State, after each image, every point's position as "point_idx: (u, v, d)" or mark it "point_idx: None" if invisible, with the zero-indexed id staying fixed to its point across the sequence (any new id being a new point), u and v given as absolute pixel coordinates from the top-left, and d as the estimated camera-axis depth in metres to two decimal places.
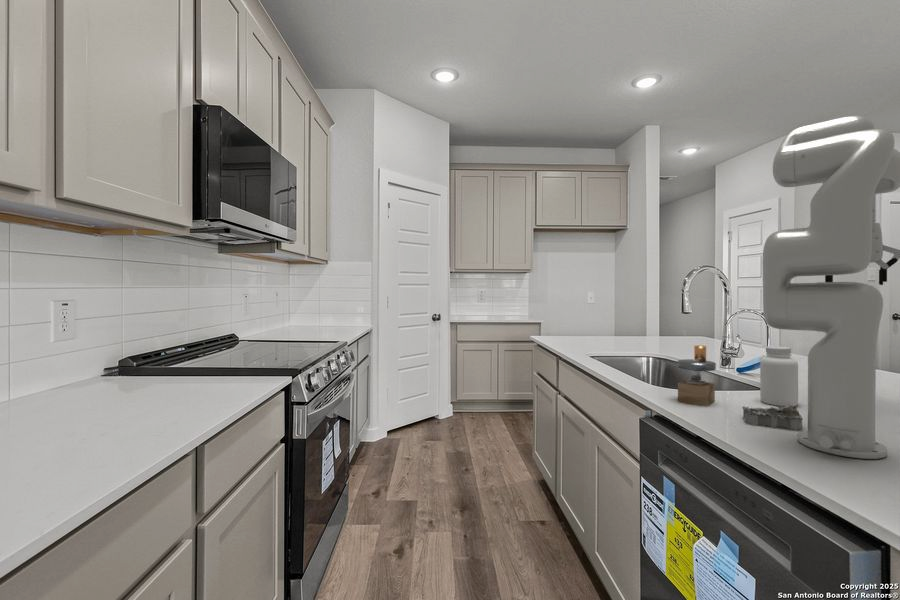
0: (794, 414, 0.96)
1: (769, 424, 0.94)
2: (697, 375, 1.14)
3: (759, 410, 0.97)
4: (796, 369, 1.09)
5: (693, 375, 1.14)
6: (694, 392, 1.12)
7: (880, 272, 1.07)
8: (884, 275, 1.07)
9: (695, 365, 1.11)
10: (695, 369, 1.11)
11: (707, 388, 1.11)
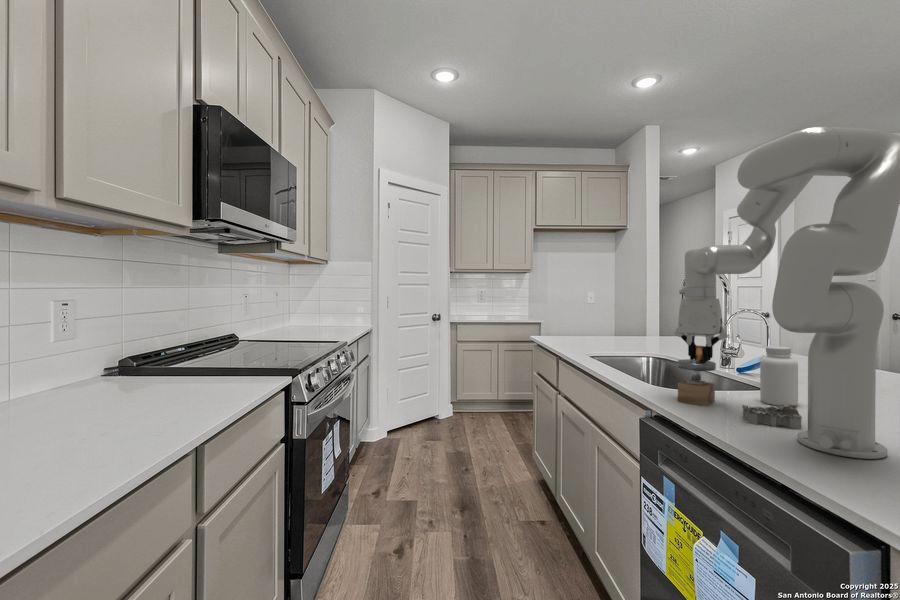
0: (793, 413, 0.96)
1: (768, 423, 0.95)
2: (697, 375, 1.14)
3: (759, 409, 0.97)
4: (796, 369, 1.09)
5: (693, 375, 1.14)
6: (694, 392, 1.12)
7: (705, 349, 1.15)
8: (709, 352, 1.15)
9: (695, 365, 1.11)
10: (695, 369, 1.11)
11: (707, 388, 1.11)
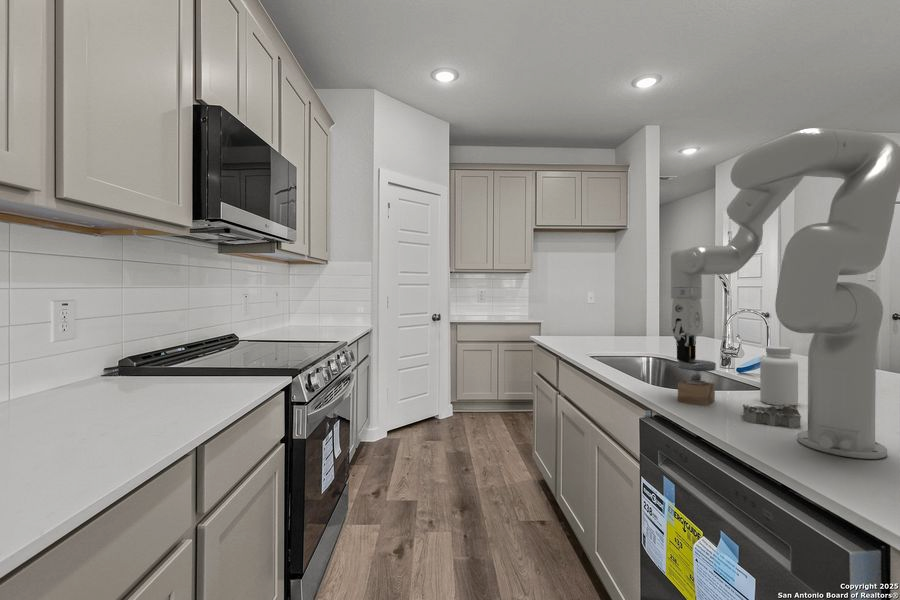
0: (794, 413, 0.97)
1: (767, 422, 0.95)
2: (700, 375, 1.14)
3: (758, 408, 0.98)
4: (796, 369, 1.09)
5: (698, 375, 1.14)
6: (694, 392, 1.12)
7: (694, 348, 1.18)
8: None
9: (713, 365, 1.11)
10: (714, 369, 1.11)
11: (707, 388, 1.11)
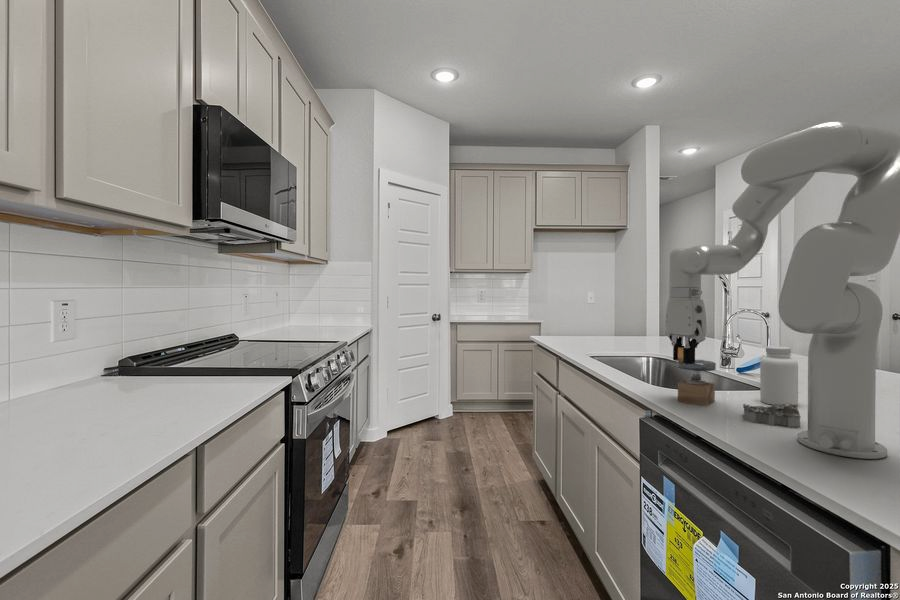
0: (794, 412, 0.97)
1: (767, 421, 0.96)
2: None
3: (758, 408, 0.98)
4: (796, 369, 1.09)
5: (700, 375, 1.14)
6: (694, 392, 1.12)
7: None
8: None
9: None
10: None
11: (707, 388, 1.11)
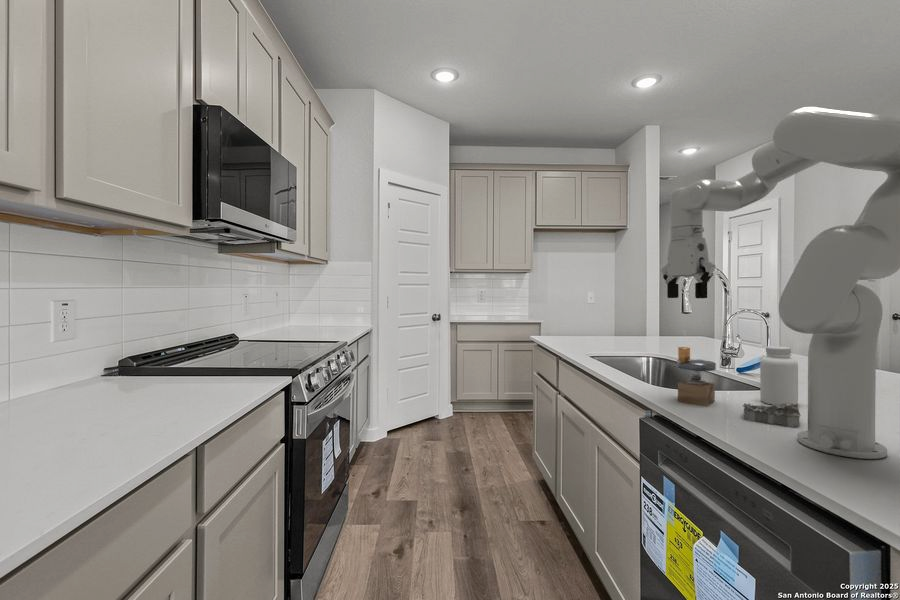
0: (795, 412, 0.97)
1: (766, 421, 0.96)
2: None
3: (758, 407, 0.99)
4: (796, 369, 1.09)
5: None
6: (694, 392, 1.12)
7: None
8: None
9: None
10: None
11: (707, 388, 1.11)
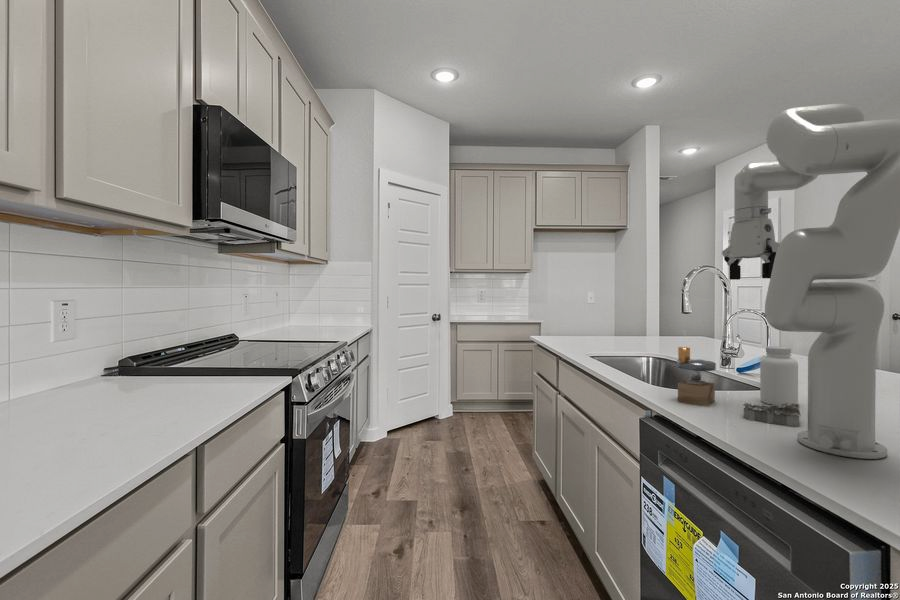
0: (796, 412, 0.97)
1: (766, 420, 0.97)
2: None
3: (758, 406, 1.00)
4: (796, 369, 1.09)
5: None
6: (694, 392, 1.12)
7: None
8: None
9: None
10: None
11: (707, 388, 1.11)
